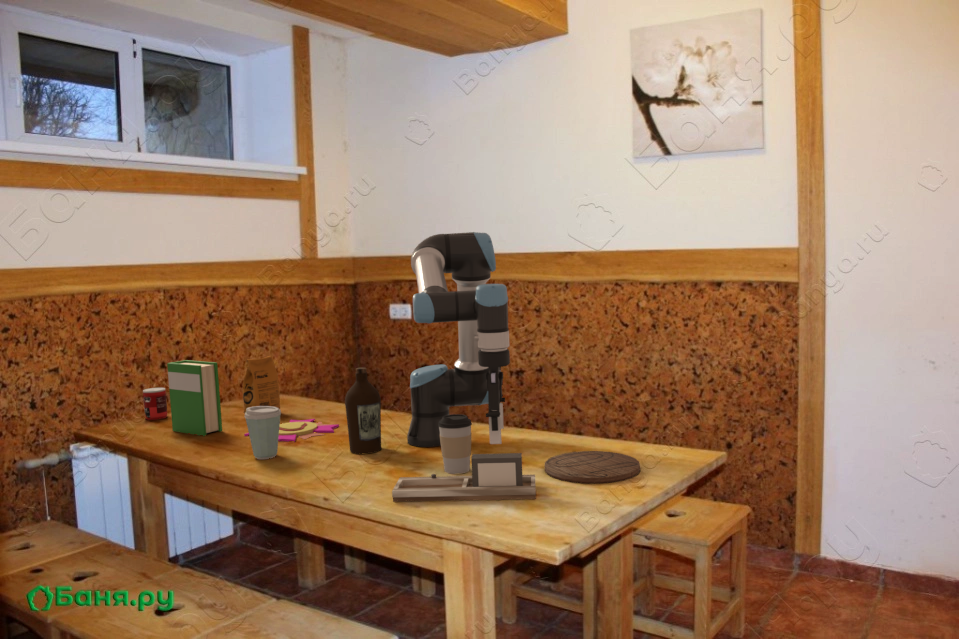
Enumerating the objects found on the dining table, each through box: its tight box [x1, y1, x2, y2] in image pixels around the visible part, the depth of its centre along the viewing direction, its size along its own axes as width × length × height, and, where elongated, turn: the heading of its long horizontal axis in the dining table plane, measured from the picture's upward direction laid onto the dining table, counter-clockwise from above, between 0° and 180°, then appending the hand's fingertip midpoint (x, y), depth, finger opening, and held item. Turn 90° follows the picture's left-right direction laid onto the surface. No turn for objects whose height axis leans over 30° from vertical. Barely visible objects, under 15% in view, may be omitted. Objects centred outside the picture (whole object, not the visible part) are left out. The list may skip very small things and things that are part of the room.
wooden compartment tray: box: [391, 473, 537, 503], centre depth 188 cm, size 11×34×4 cm, turn 86°
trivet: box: [544, 450, 641, 485], centre depth 204 cm, size 25×25×2 cm
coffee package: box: [241, 355, 281, 415], centre depth 290 cm, size 10×12×22 cm
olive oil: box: [344, 366, 382, 455], centre depth 232 cm, size 11×11×25 cm
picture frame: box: [470, 452, 523, 487], centre depth 187 cm, size 4×12×8 cm, turn 86°
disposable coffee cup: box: [244, 406, 282, 460], centre depth 230 cm, size 11×11×15 cm
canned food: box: [142, 387, 168, 421], centre depth 294 cm, size 8×8×11 cm
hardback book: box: [166, 359, 223, 437], centre depth 268 cm, size 18×7×24 cm, turn 56°
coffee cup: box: [438, 413, 473, 475], centre depth 208 cm, size 9×9×15 cm
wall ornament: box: [243, 418, 340, 443], centre depth 262 cm, size 30×2×30 cm
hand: (496, 435), depth 187 cm, fingers open, 13 cm apart
